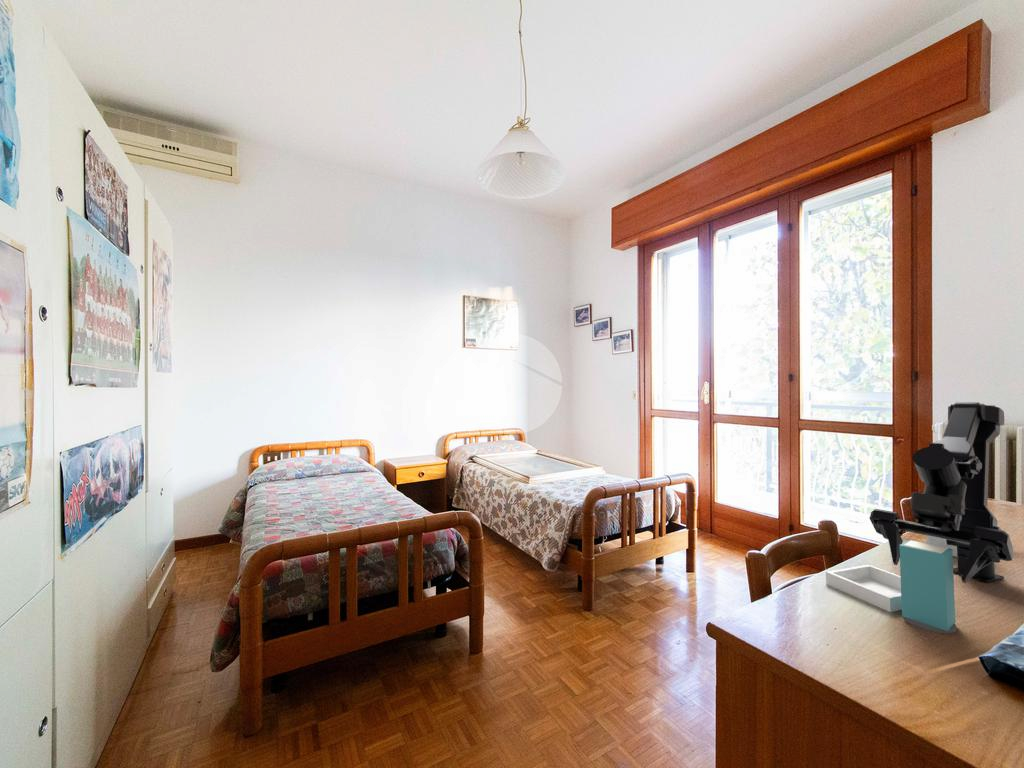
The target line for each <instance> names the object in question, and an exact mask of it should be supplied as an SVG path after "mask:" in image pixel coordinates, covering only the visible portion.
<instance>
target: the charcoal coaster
mask: <svg viewBox="0 0 1024 768" xmlns="http://www.w3.org/2000/svg"><path fill="white" fill-rule="evenodd" d="M902 618H903V620H904V621H905V622H907V623H909V624H910V625H912V626H915V627H917V628H918V629H922V630H926V631H929V632H932V633H938V634H945V635H946V634H947V635H948V634H955V633H956V632H957V625H956V622H955V623H954V624H953V626H952V627H951V628H950V629H949V630H948V631H946V630H943V629H940V628H936V627H933V626H930V625H927V624H924V623H921V622H918V621H915V620H912V619H909V618H906V617H903V616H902Z"/></svg>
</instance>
